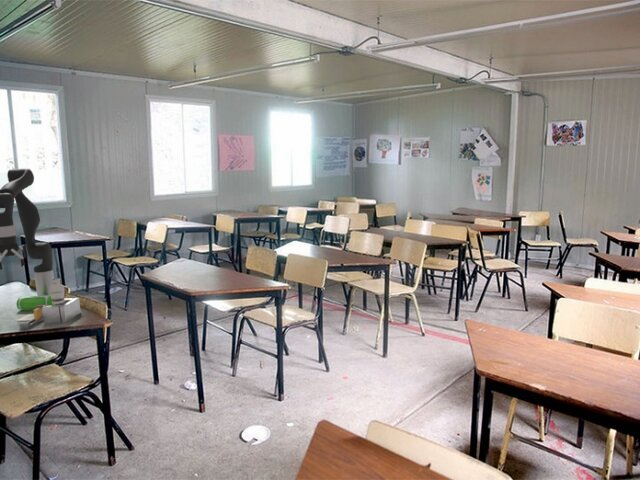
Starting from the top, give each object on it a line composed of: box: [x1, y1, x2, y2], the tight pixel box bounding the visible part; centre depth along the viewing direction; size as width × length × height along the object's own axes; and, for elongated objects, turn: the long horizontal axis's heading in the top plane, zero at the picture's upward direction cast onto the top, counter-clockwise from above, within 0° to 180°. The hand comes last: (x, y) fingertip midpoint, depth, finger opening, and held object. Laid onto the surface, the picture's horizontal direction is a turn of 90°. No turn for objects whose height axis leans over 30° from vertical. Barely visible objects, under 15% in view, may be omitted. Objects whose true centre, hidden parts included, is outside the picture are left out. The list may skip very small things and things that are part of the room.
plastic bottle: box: [50, 277, 65, 305], centre depth 236 cm, size 6×7×20 cm
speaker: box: [16, 295, 53, 311], centre depth 254 cm, size 18×7×8 cm, turn 91°
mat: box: [16, 313, 34, 323], centre depth 240 cm, size 10×8×1 cm
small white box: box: [18, 297, 82, 330], centre depth 233 cm, size 23×18×8 cm
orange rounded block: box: [32, 305, 46, 321], centre depth 236 cm, size 8×3×7 cm, turn 1°
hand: (11, 268), depth 230 cm, fingers open, 8 cm apart
